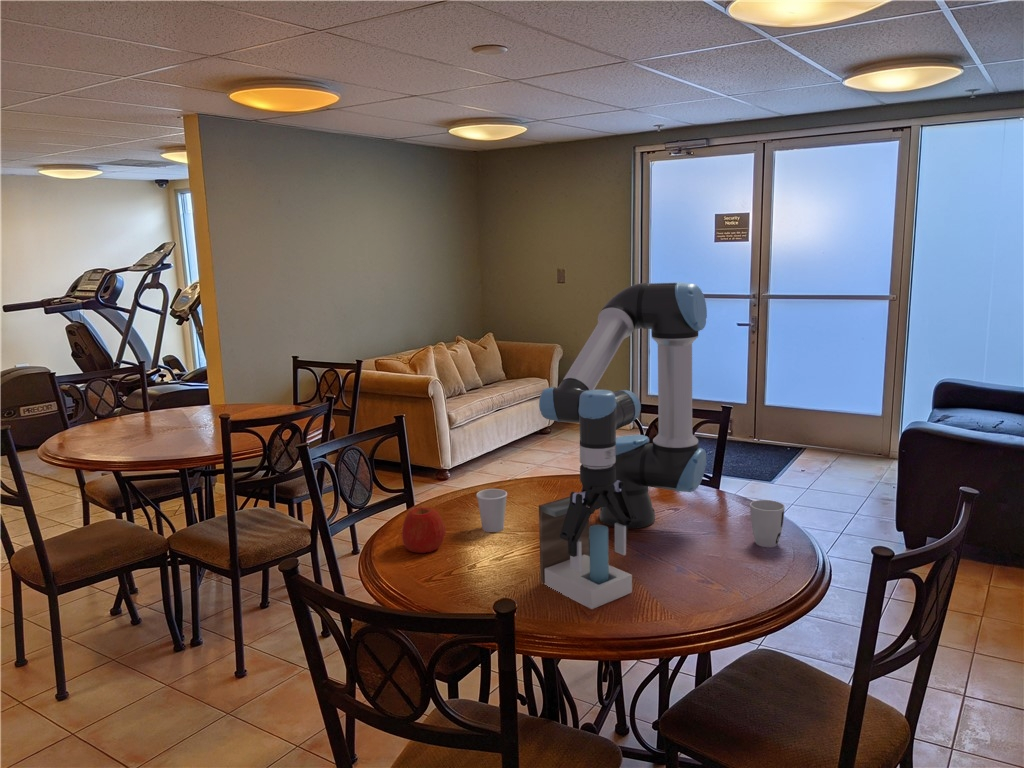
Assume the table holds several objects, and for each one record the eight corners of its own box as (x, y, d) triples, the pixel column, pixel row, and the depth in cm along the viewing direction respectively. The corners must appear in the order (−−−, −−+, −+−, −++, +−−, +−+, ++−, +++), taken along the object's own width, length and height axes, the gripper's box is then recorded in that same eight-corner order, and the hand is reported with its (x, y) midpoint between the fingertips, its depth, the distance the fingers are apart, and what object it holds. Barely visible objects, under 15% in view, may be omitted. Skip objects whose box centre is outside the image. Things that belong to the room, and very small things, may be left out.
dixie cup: (500, 521, 205) (499, 486, 203) (513, 530, 198) (512, 495, 196) (472, 526, 201) (471, 491, 200) (485, 536, 194) (483, 500, 192)
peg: (586, 593, 160) (585, 527, 157) (599, 588, 162) (598, 523, 159) (599, 600, 156) (598, 533, 154) (612, 594, 159) (612, 528, 156)
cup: (785, 550, 179) (787, 511, 178) (751, 548, 181) (752, 510, 179) (780, 538, 187) (782, 500, 186) (747, 536, 189) (748, 499, 187)
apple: (453, 543, 190) (451, 503, 189) (431, 558, 181) (429, 517, 179) (417, 537, 195) (415, 499, 193) (394, 552, 185) (391, 512, 183)
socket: (544, 585, 164) (544, 568, 163) (584, 570, 171) (584, 554, 171) (591, 609, 152) (591, 591, 152) (632, 592, 160) (632, 574, 159)
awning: (540, 583, 165) (538, 505, 162) (586, 566, 174) (585, 491, 171) (556, 591, 161) (555, 511, 158) (602, 573, 169) (602, 497, 166)
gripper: (565, 480, 144) (567, 583, 148) (651, 456, 159) (651, 551, 162) (541, 472, 150) (543, 571, 153) (625, 450, 165) (626, 541, 168)
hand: (598, 561), depth 158 cm, fingers open, 12 cm apart
